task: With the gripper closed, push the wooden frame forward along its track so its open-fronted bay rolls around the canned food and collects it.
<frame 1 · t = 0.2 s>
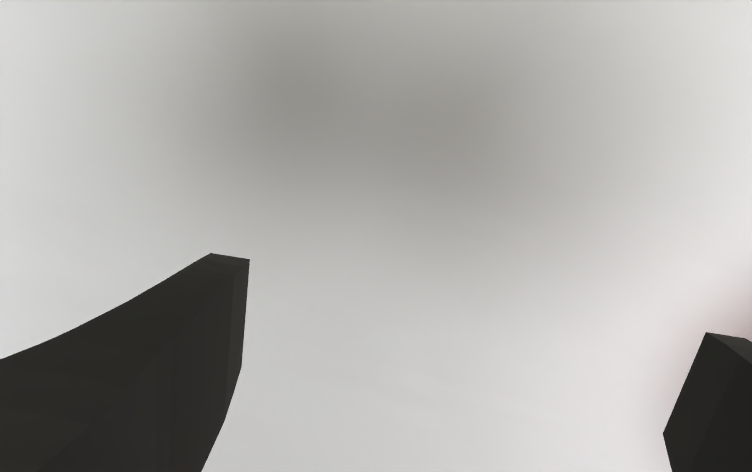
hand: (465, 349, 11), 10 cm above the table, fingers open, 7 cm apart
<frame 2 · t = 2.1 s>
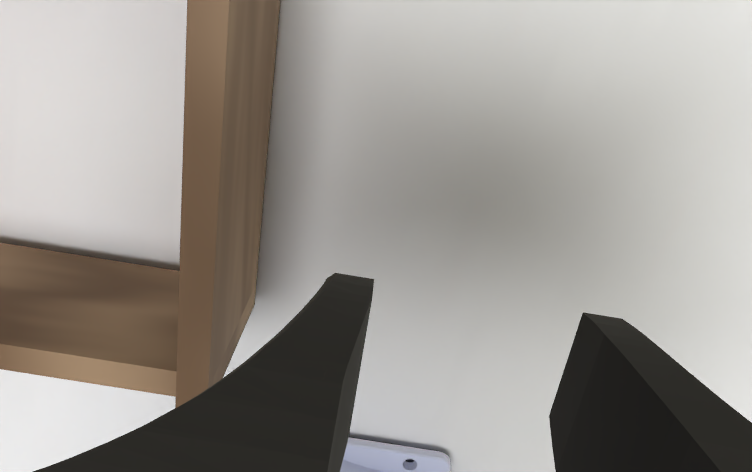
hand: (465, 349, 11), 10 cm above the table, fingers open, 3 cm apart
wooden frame: (20, 121, 17), point 3 cm above the table, slide at 0.0 cm
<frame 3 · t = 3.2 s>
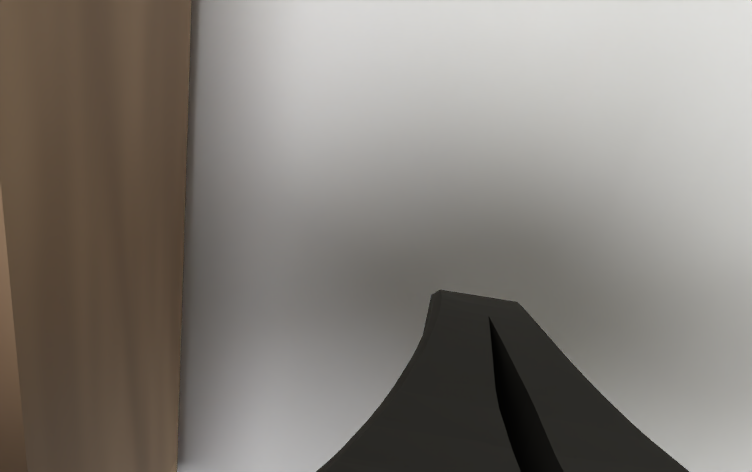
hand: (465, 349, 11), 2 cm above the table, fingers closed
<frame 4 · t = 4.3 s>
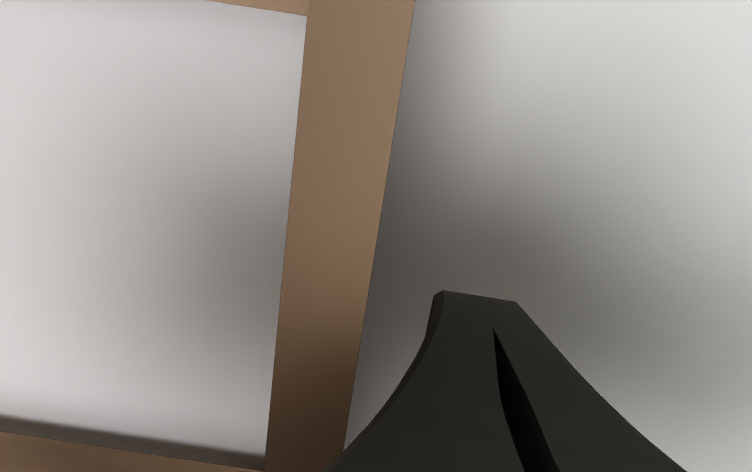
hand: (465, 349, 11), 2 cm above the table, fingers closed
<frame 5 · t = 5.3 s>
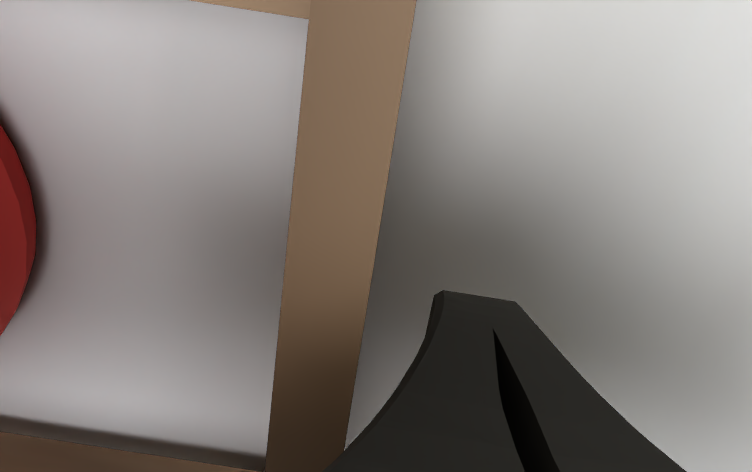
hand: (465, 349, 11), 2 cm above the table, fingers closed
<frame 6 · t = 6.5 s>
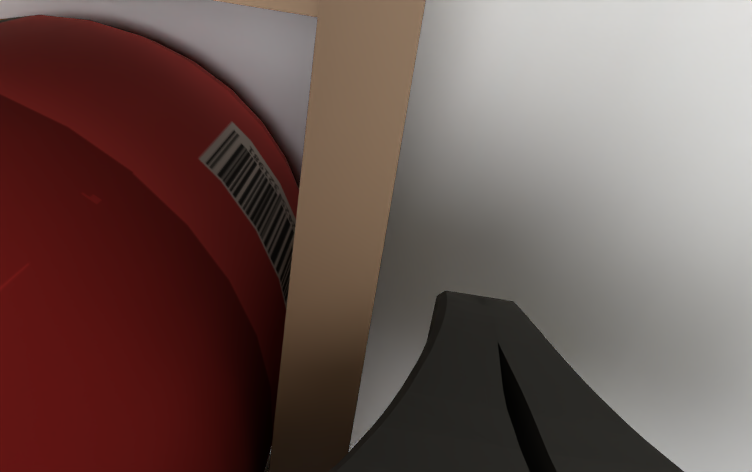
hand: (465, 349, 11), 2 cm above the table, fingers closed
canned food: (121, 218, 13), resting in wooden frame, touching gripper
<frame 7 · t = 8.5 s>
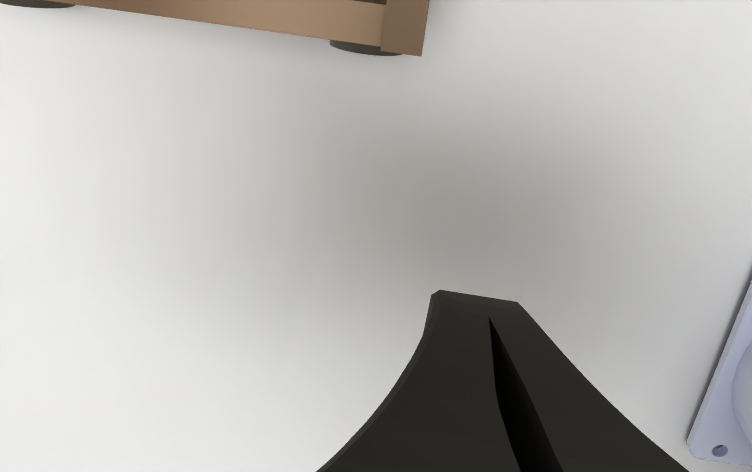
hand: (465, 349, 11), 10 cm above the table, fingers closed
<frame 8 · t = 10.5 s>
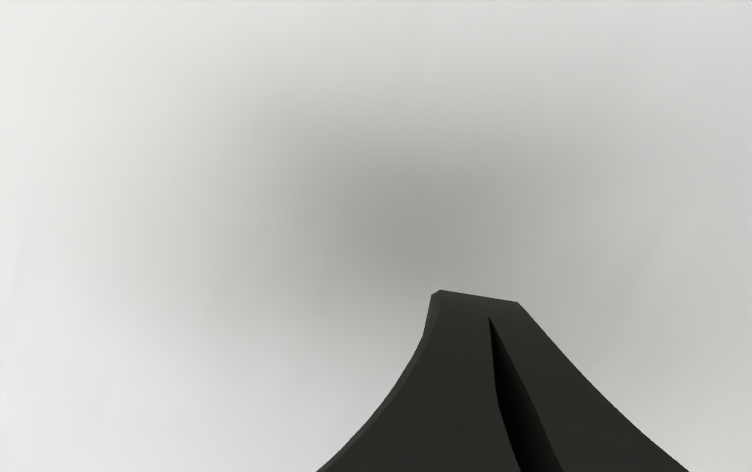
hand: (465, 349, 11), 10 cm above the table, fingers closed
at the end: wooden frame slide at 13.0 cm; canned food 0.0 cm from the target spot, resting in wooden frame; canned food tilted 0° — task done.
